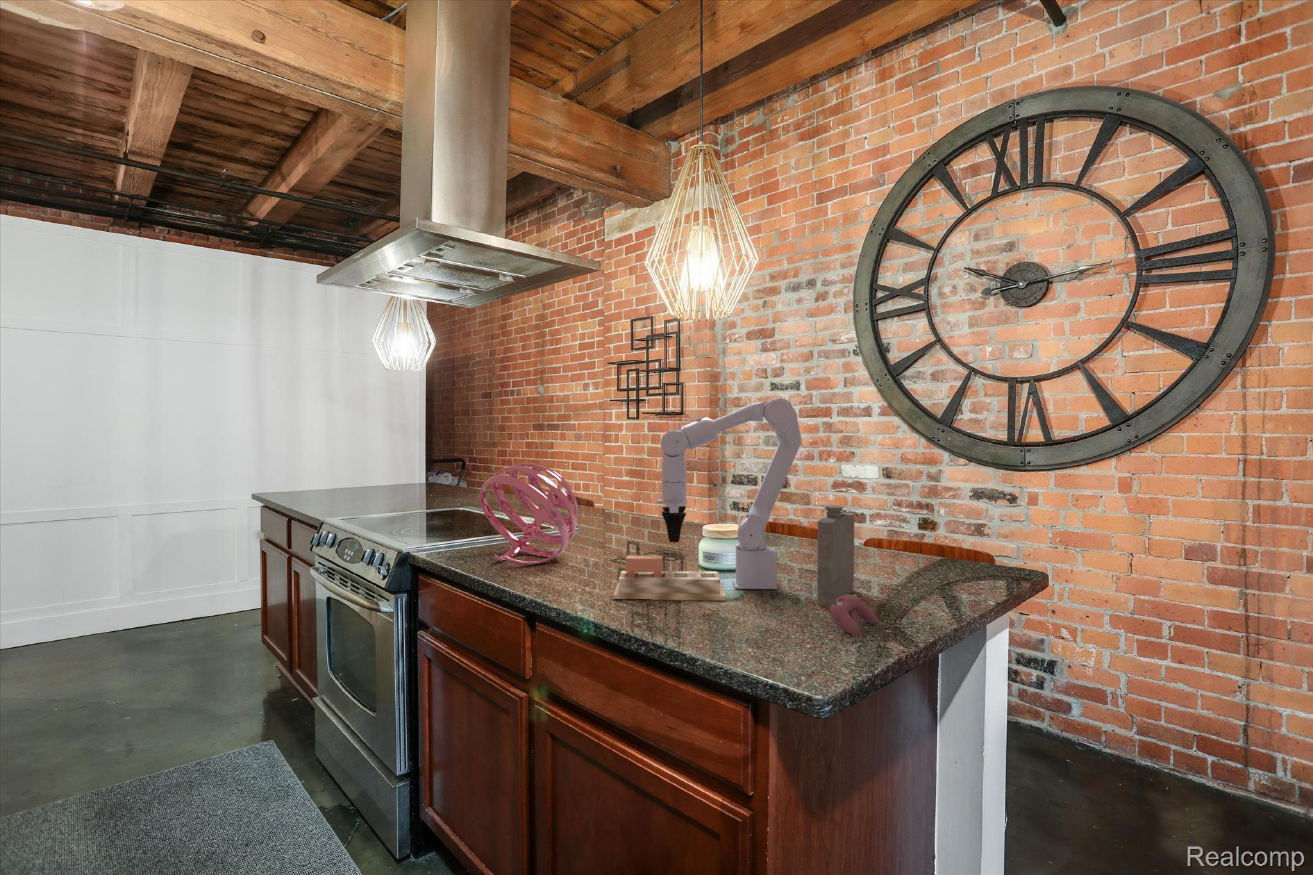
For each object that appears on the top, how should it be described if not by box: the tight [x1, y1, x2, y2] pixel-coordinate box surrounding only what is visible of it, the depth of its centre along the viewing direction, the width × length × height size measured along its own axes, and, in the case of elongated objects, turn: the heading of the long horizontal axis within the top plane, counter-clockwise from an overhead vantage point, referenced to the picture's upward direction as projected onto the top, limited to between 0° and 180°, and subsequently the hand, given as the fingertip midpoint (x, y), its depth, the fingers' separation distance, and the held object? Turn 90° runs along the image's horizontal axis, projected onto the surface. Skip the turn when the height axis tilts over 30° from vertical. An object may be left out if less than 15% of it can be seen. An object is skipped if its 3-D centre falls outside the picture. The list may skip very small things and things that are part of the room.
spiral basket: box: [479, 462, 579, 566], centre depth 174 cm, size 28×28×27 cm
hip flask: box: [816, 504, 855, 607], centre depth 139 cm, size 16×4×20 cm, turn 144°
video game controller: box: [829, 593, 878, 637], centre depth 119 cm, size 10×5×7 cm, turn 141°
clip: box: [625, 555, 663, 577], centre depth 142 cm, size 8×3×7 cm, turn 88°
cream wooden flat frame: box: [613, 570, 726, 601], centre depth 142 cm, size 24×11×4 cm, turn 88°
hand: (674, 538), depth 151 cm, fingers open, 7 cm apart
